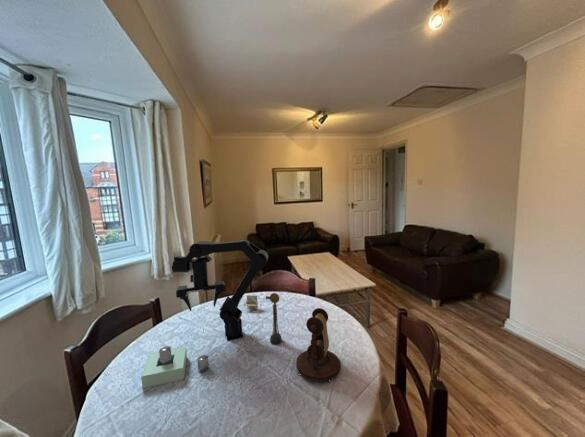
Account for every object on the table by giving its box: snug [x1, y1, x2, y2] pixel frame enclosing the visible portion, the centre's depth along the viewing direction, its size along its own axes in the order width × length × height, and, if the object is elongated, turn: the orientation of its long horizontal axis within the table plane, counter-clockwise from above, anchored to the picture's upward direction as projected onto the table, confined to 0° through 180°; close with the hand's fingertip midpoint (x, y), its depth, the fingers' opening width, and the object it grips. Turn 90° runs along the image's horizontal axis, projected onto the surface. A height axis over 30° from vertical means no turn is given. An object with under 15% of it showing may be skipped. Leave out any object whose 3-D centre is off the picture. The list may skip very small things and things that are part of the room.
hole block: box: [141, 346, 188, 389], centre depth 89 cm, size 12×12×4 cm
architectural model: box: [242, 294, 259, 311], centre depth 133 cm, size 3×7×7 cm, turn 82°
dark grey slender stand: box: [265, 292, 283, 346], centre depth 104 cm, size 6×5×20 cm
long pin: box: [158, 345, 172, 366], centre depth 89 cm, size 4×4×8 cm
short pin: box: [196, 354, 210, 374], centre depth 90 cm, size 4×4×4 cm
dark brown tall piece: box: [295, 307, 342, 382], centre depth 87 cm, size 15×15×20 cm
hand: (202, 308), depth 109 cm, fingers open, 9 cm apart
